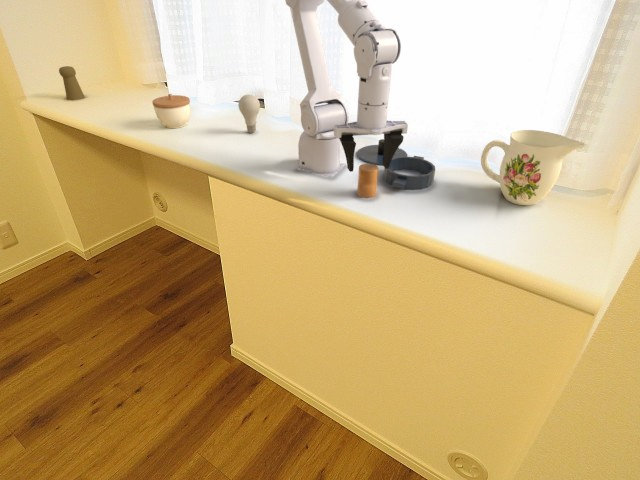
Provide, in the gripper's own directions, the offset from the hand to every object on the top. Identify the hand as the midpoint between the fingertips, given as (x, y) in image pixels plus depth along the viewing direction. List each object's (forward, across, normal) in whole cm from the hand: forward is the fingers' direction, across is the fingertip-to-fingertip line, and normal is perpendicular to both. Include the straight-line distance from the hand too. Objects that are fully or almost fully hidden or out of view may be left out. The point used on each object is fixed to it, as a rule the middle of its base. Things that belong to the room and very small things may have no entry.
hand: (368, 168), depth 84 cm
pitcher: (+6, +32, -7) cm, 33 cm away
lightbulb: (+7, -22, +45) cm, 50 cm away
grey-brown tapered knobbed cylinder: (+7, -84, +96) cm, 128 cm away
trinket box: (+7, -45, +56) cm, 72 cm away
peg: (+6, 0, 0) cm, 6 cm away
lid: (+6, +10, +19) cm, 23 cm away
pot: (+6, +12, +5) cm, 14 cm away
